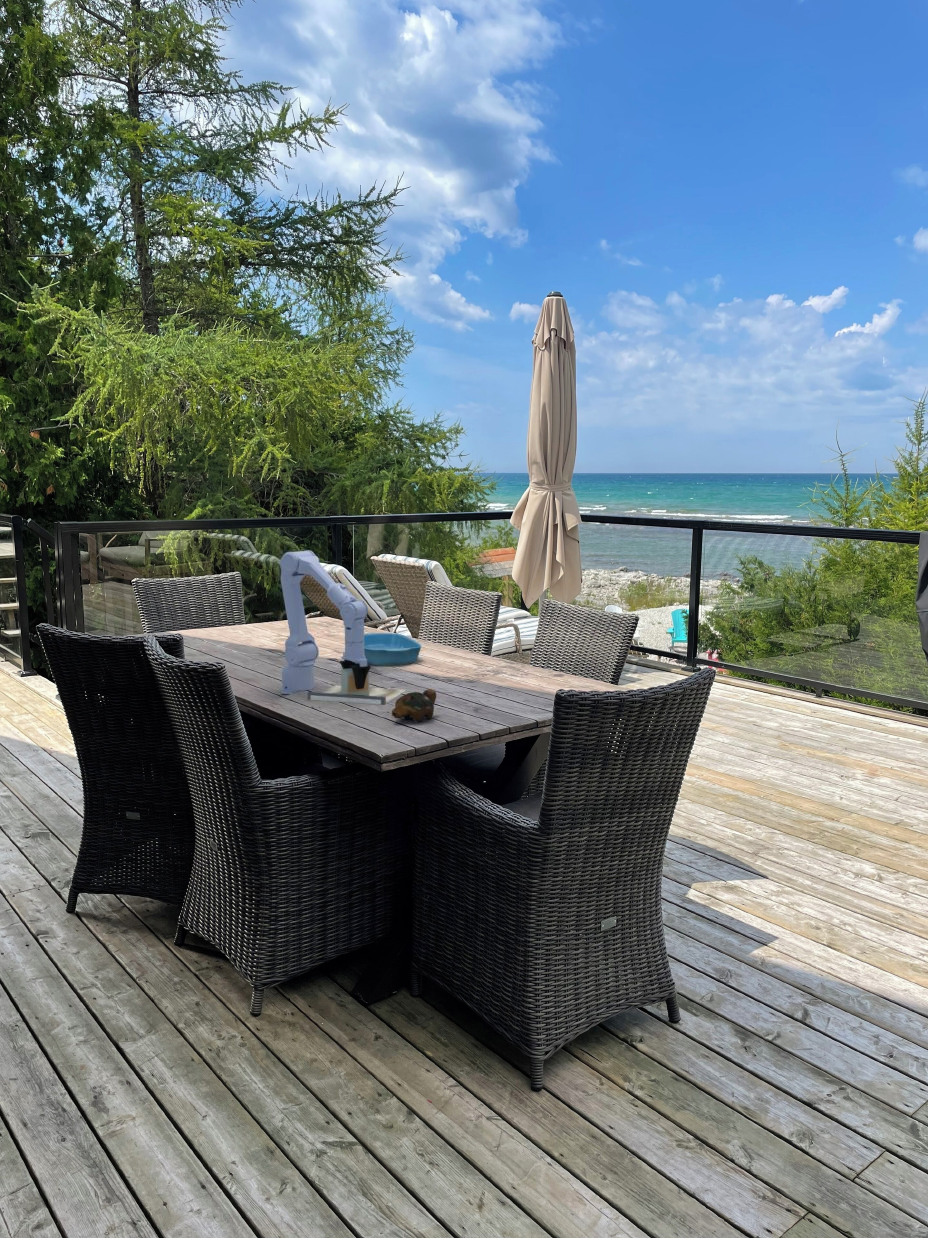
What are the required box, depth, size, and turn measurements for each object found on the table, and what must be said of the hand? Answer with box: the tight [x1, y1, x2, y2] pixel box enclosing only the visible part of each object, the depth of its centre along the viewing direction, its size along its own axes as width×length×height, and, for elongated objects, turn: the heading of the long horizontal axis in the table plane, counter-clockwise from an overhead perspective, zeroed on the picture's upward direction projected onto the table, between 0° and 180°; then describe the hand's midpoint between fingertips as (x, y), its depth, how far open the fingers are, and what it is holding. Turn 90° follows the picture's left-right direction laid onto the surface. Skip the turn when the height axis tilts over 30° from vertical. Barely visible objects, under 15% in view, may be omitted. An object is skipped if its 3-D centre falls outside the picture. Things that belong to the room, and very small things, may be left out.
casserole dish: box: [364, 632, 422, 667], centre depth 339 cm, size 37×22×7 cm, turn 21°
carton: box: [340, 668, 370, 696], centre depth 271 cm, size 5×7×8 cm
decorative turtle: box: [391, 688, 437, 723], centre depth 250 cm, size 10×15×8 cm, turn 138°
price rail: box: [307, 691, 387, 705], centre depth 265 cm, size 24×1×4 cm, turn 75°
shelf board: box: [320, 685, 407, 704], centre depth 275 cm, size 24×18×2 cm
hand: (355, 686), depth 271 cm, fingers open, 7 cm apart
